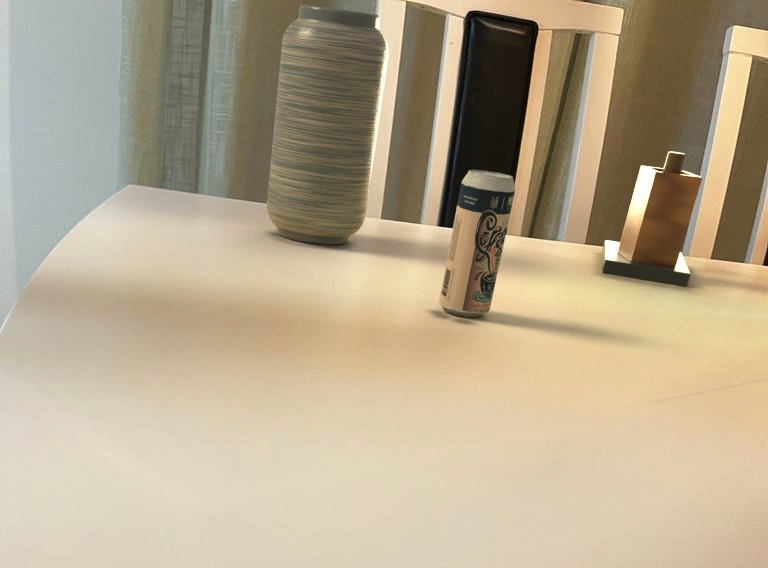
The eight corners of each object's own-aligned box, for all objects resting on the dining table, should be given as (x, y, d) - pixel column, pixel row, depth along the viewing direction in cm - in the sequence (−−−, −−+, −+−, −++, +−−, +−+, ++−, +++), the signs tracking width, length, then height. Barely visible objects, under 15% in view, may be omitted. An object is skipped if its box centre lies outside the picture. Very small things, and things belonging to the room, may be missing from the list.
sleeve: (660, 257, 126) (685, 171, 121) (675, 267, 121) (702, 177, 116) (617, 252, 126) (640, 165, 120) (630, 261, 121) (656, 171, 116)
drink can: (476, 321, 92) (506, 180, 86) (429, 310, 94) (455, 170, 88) (495, 314, 96) (525, 177, 89) (450, 302, 98) (476, 168, 91)
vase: (306, 249, 112) (335, 8, 100) (244, 227, 119) (264, 0, 107) (381, 246, 119) (416, 20, 107) (318, 225, 126) (344, 11, 114)
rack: (678, 264, 133) (712, 152, 126) (686, 287, 119) (725, 162, 112) (602, 251, 134) (631, 140, 127) (602, 272, 121) (634, 149, 114)
